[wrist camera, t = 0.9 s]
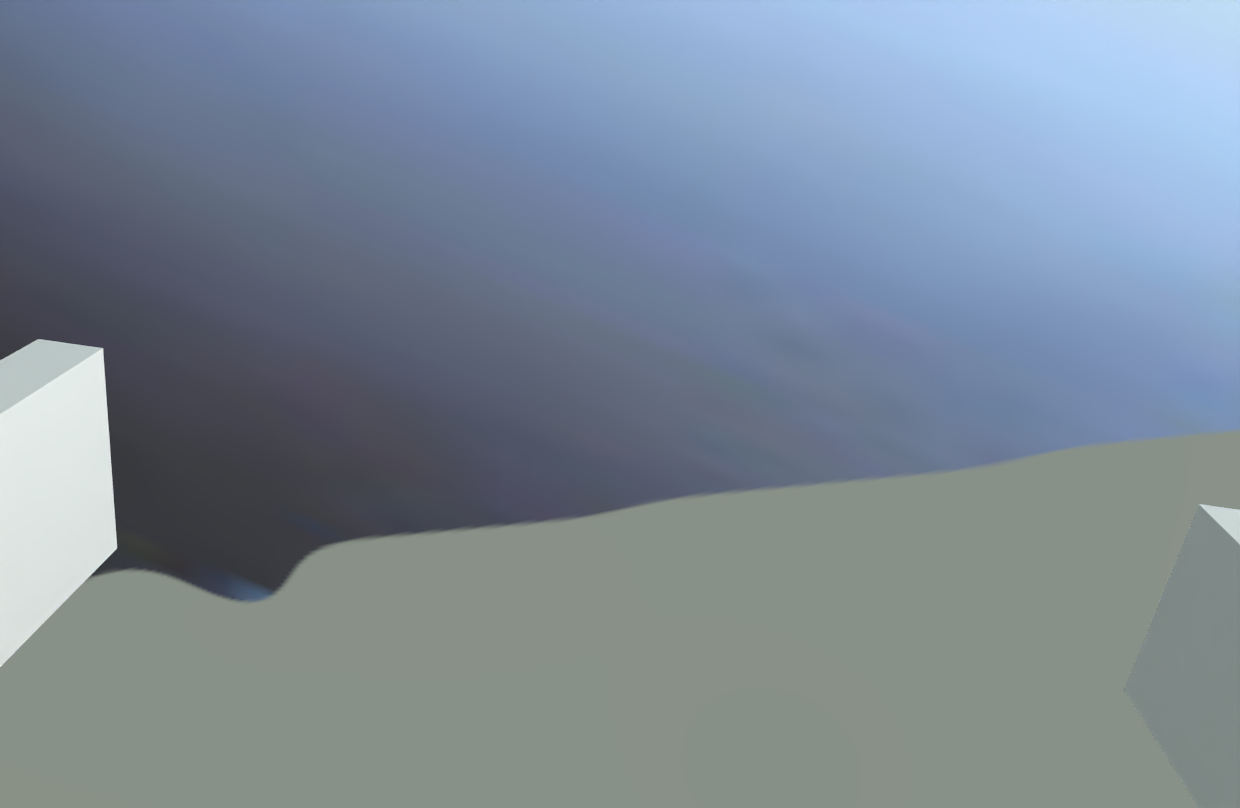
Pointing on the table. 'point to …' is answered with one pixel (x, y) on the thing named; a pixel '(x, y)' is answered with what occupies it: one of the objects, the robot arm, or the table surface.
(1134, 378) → the table surface
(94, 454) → the robot arm
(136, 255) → the table surface
